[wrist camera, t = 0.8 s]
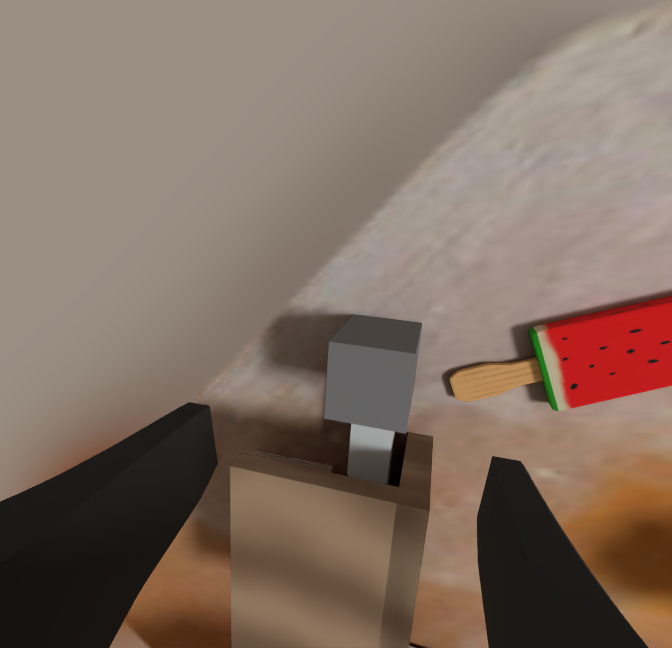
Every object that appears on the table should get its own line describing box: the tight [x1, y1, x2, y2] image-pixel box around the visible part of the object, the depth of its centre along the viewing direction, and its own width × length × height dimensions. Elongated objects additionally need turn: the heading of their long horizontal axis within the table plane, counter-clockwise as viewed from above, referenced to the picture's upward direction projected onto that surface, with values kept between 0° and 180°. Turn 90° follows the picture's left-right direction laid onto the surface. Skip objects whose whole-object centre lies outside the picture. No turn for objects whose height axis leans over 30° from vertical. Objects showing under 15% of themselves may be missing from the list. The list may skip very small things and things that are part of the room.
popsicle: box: [450, 296, 672, 411], centre depth 21 cm, size 5×2×15 cm
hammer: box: [324, 314, 422, 485], centre depth 24 cm, size 18×4×6 cm, turn 176°
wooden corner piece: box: [230, 433, 433, 648], centre depth 25 cm, size 13×10×7 cm
